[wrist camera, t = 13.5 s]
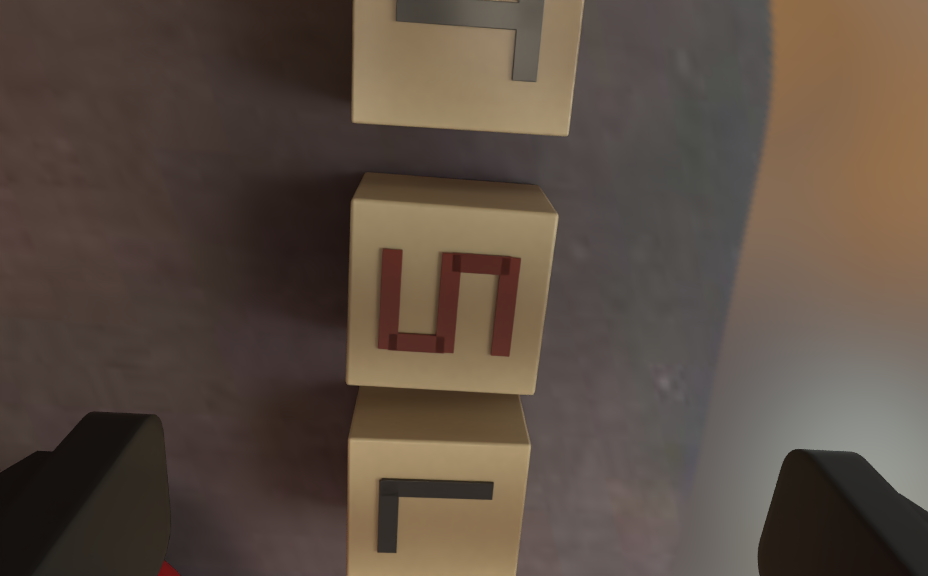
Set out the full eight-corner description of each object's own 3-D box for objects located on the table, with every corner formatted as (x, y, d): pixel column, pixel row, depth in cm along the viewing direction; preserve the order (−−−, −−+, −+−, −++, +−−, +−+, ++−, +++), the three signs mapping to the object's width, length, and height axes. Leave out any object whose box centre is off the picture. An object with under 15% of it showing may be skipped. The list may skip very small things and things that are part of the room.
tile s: (364, 171, 17) (350, 199, 15) (540, 184, 18) (560, 214, 15) (358, 333, 19) (344, 387, 16) (520, 343, 19) (535, 398, 16)
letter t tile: (368, -101, 15) (352, -131, 12) (568, -85, 16) (599, -110, 13) (365, 107, 17) (350, 123, 14) (546, 118, 17) (569, 137, 14)
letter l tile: (360, 379, 20) (347, 440, 17) (518, 386, 20) (532, 447, 17) (357, 511, 21) (345, 586, 18) (504, 515, 21) (515, 591, 18)
